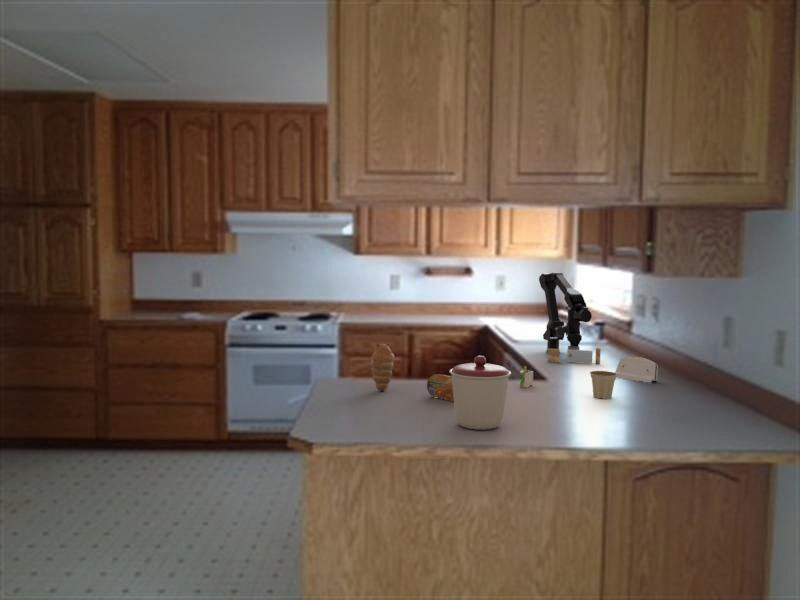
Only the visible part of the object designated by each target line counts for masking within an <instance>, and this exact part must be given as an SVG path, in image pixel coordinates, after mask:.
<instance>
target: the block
mask: <svg viewBox="0 0 800 600" xmlns="http://www.w3.org/2000/svg"><path fill="white" fill-rule="evenodd" d="M567 350H580V346H579V345H578V346H570V345H567Z"/></svg>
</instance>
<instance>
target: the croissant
mask: <svg viewBox="0 0 800 600" xmlns="http://www.w3.org/2000/svg"><path fill="white" fill-rule="evenodd" d="M395 359H396V357H395V354H394V353H393V351H392V349H390V341H387V342H386V343H379V342H375V347H374V350H373V354H371V362H370V367H371V374H372V377H373V378H372V379H373V381H374V383H375V387H376V389H377V391H379V390H385V389H386V390H387V389H388V387H389V384H390V381H391V379H392V377H393V371H392V370H393V369H394V367H395V365H394V361H395ZM386 390H385V391H386Z"/></svg>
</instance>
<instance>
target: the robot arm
mask: <svg viewBox="0 0 800 600" xmlns="http://www.w3.org/2000/svg"><path fill="white" fill-rule="evenodd" d="M538 281H539V284H540V285H539V286H540V288H541V289H542V290H543V291H544V294H545V302H546V303H545V304H546V308H547V316H548V322H547V324H546V330H545V331H544V333H543V334H542V336H543V337H542V339H543V340H545V341H547V342H546V343H547V344H546V350H545V351H546V352H548V349H559V354H560V353H561V350H560V341H563V340H564V338H565V336H566V340H567V341H568V343H569V346H579V345H580V343H581V341H582V340H583V339H582V337H583V336H582V334H581V322H583V323H589V322H590V321H591V319H592V318H593V315H592V312H591V311H590V310H589V307H588V305H587V303H586V301H585V299H584V296H583V294H582V293H581V292H580V291H579V290H577V289H574V287H572V285H571V284H570V282H569V281H568V280H567V279H566V277H565V276H564V273H563V272H561V271H560V272H559V271H558V272H557V271H554V272H550V273H541V275H540V276H539V277H538ZM557 287H558V288H559V290H560V291H561V292H562V294H563V295H564V296H563V297H564V301H565V303H566V305H567V306H566V307H565V310H566V311H567V321H566V324H565V322H564V321H563V320H561V319H560V316H559V315H560V314H559V309H558V303H557V301H558V300H557V296H556V288H557ZM546 352H545V353H546Z"/></svg>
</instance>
